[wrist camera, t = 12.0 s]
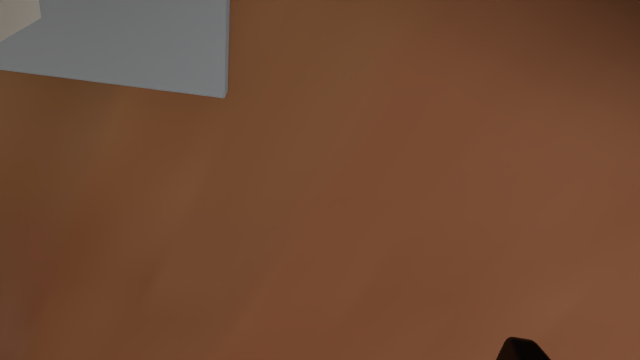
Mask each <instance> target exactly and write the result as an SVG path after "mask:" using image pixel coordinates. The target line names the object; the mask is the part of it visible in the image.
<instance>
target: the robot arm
mask: <svg viewBox="0 0 640 360" xmlns="http://www.w3.org/2000/svg"><path fill="white" fill-rule="evenodd" d="M496 360H551V359H550V358H549V357H548V356H547V355H546V354H545V352H544V351H543V350H542V349H541V348H540V347H539V346H538V344H537V343H535V342H534V341H532V340H529V339H523V338H517V337H509V338H508V339H506V341H505V342H504V344H503V346H502V348H501V350H500V353H499V355H498V357H497V359H496Z"/></svg>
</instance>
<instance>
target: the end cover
mask: <svg viewBox="0 0 640 360" xmlns="http://www.w3.org/2000/svg"><path fill="white" fill-rule="evenodd" d="M40 18H41V12H40V5H39V0H0V42H1V41H3V40H4V39H6V38H8V37H10V36H11V35H13V34H15V33H16V32H18V31H20V30H21V29H23V28H25V27H27V26H28V25H30V24H32V23H33V22H35V21H37V20H39V19H40Z"/></svg>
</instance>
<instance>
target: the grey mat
mask: <svg viewBox="0 0 640 360" xmlns="http://www.w3.org/2000/svg"><path fill="white" fill-rule="evenodd" d="M39 5H40V12H41V18H40V19H39V20H37V21H35V22H33V23H32V24H30V25H28V26H27V27H25V28H23V29H21V30H20V31H18V32H16V33H15V34H13V35H11V36H10V37H8V38H6V39H4V40H3V41H1V42H0V70H7V71H15V72H23V73H30V74H38V75H46V76H54V77H62V78H70V79H78V80H85V81H93V82H101V83H109V84H117V85H125V86H133V87H140V88H148V89H156V90H164V91H172V92H180V93H188V94H195V95H203V96H211V97H219V98H225V96H226V94H227V91H228V54H229V14H230V0H39Z"/></svg>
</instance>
